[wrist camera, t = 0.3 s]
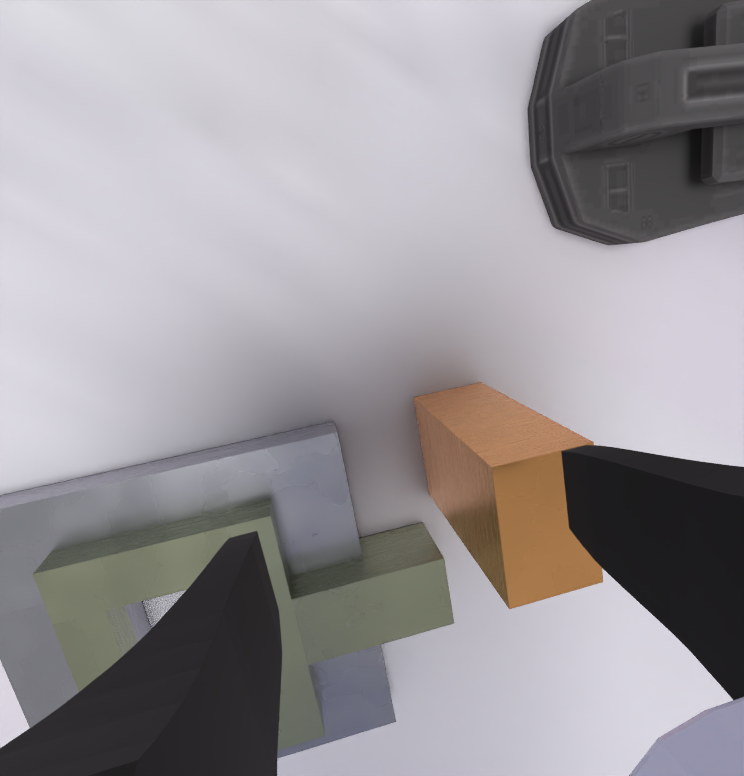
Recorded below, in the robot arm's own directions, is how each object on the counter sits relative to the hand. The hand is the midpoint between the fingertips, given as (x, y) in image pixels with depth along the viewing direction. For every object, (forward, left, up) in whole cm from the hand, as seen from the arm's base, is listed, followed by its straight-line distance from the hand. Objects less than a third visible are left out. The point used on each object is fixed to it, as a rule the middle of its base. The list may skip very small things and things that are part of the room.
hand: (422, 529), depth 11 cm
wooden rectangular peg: (-2, -4, -10) cm, 11 cm away
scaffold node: (-7, +6, -10) cm, 14 cm away
